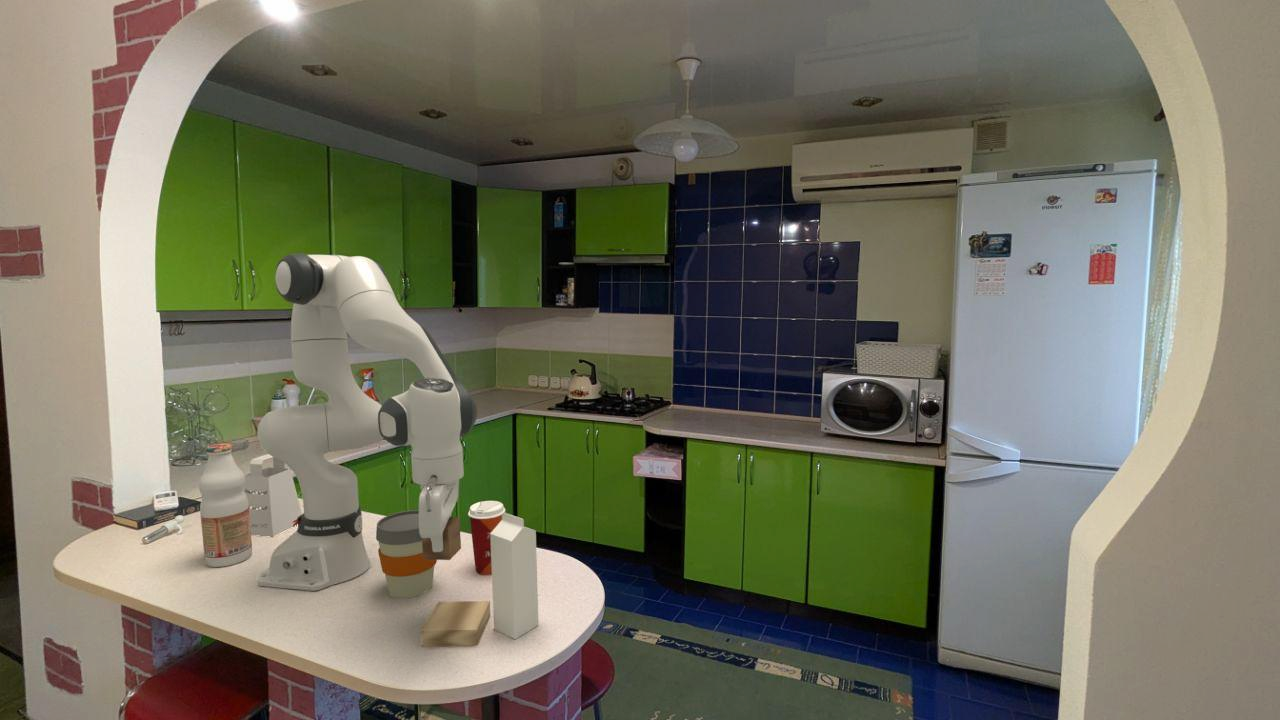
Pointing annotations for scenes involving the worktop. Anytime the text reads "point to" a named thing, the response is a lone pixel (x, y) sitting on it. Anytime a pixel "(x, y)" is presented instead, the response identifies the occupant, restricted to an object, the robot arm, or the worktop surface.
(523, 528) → the milk
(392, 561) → the reusable coffee cup
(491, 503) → the coffee cup
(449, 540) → the walnut cube
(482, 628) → the oak plinth
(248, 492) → the grater
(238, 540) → the fruit juice
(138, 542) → the worktop surface
